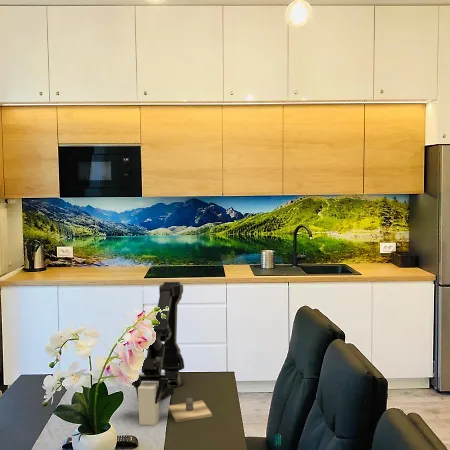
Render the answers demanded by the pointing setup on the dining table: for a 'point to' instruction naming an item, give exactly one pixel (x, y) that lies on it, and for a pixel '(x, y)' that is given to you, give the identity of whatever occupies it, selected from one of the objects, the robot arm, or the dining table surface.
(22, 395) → the dining table surface
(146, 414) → the beige rectangular block
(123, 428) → the dining table surface
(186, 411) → the post stand
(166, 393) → the electric trimmer
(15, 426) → the dining table surface
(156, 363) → the robot arm
